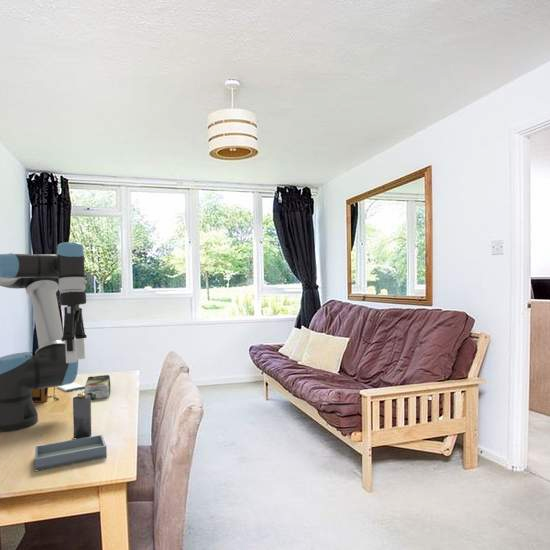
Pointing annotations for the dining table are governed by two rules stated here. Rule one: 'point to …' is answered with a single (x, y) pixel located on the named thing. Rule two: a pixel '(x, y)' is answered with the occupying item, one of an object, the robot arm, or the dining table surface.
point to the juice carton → (98, 386)
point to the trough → (69, 452)
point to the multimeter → (41, 394)
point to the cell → (82, 416)
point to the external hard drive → (70, 387)
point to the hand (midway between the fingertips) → (76, 360)
